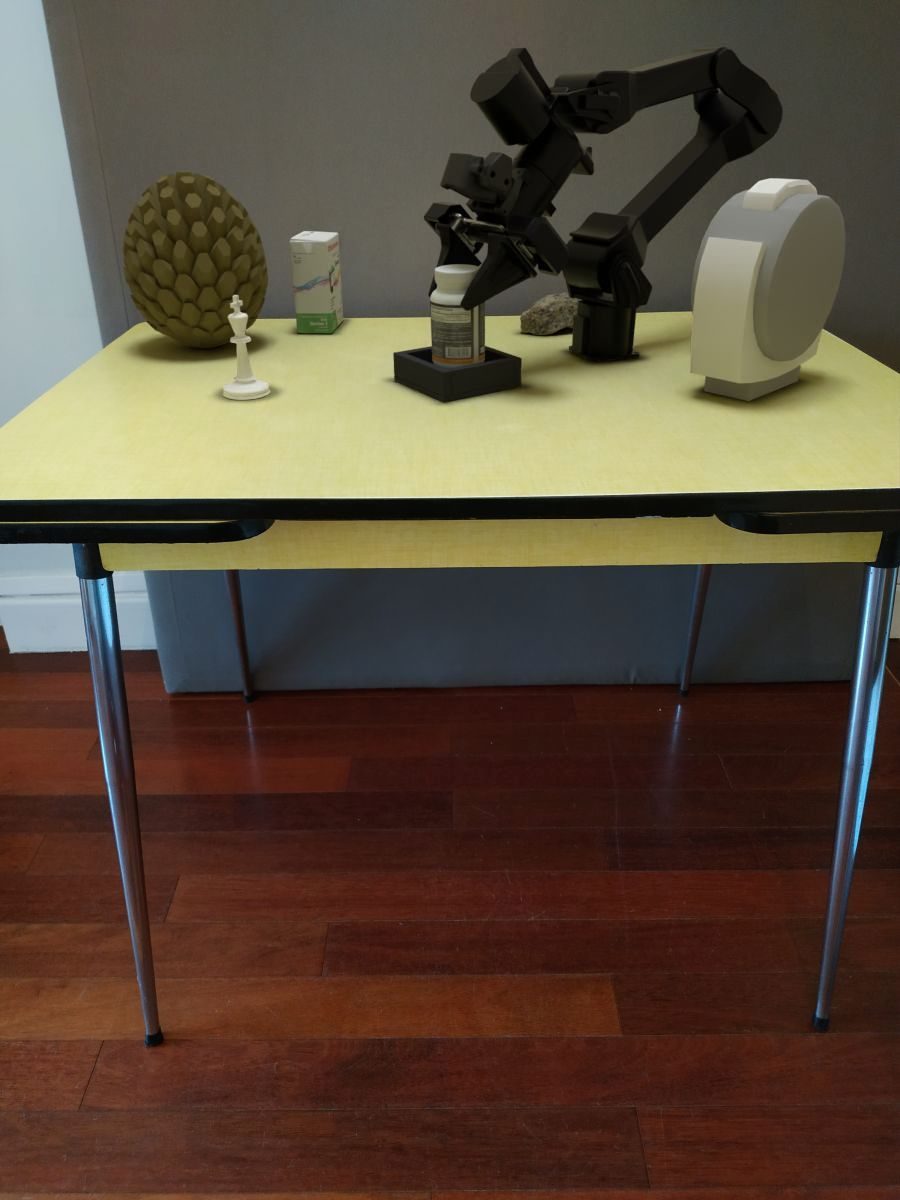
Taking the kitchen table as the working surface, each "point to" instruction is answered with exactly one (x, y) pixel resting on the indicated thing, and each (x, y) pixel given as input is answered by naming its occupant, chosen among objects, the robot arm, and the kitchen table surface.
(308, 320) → the ink box
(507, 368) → the socket pad
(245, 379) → the chess piece
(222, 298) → the decorative object
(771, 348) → the alarm clock
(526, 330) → the rock
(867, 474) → the kitchen table surface
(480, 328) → the pill bottle
